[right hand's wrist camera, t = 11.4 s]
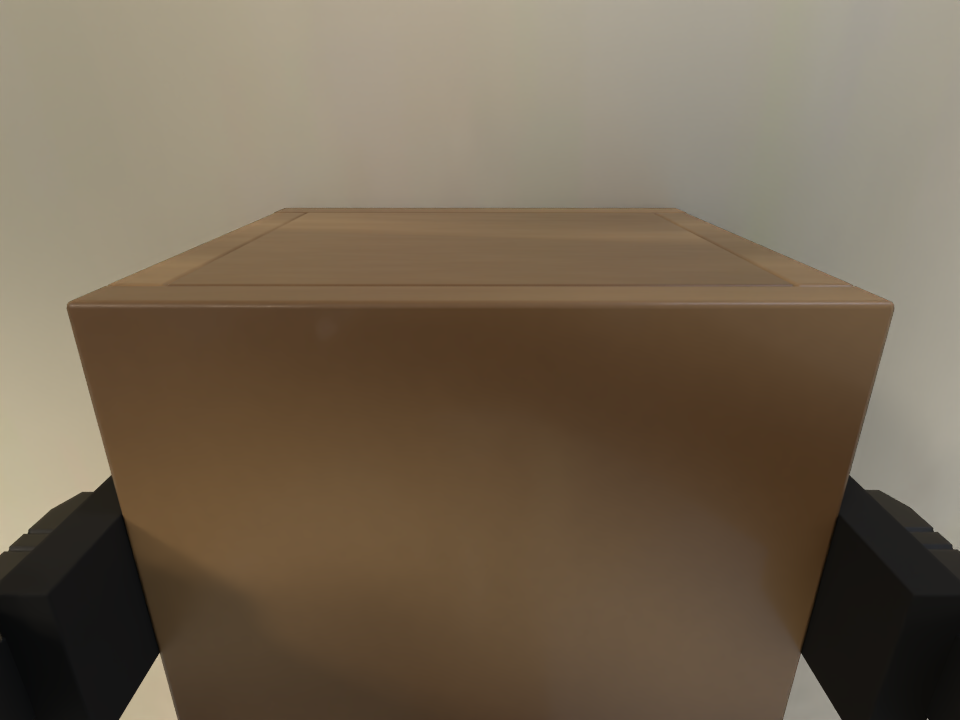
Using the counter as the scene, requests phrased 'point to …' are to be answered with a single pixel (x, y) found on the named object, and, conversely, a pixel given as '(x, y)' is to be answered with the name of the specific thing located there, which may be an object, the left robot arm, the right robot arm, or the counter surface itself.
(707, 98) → the counter surface
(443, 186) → the counter surface
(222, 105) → the counter surface
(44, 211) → the counter surface
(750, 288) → the cabinet
